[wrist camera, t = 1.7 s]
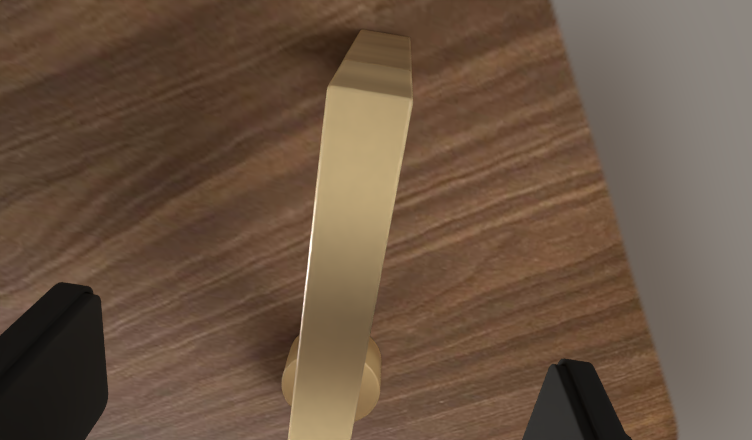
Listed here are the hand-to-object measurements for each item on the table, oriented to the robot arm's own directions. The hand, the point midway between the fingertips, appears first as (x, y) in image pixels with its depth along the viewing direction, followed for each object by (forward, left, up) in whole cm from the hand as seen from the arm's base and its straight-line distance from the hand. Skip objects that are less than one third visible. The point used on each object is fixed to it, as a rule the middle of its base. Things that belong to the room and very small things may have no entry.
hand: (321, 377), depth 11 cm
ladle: (+4, 0, -12) cm, 12 cm away
